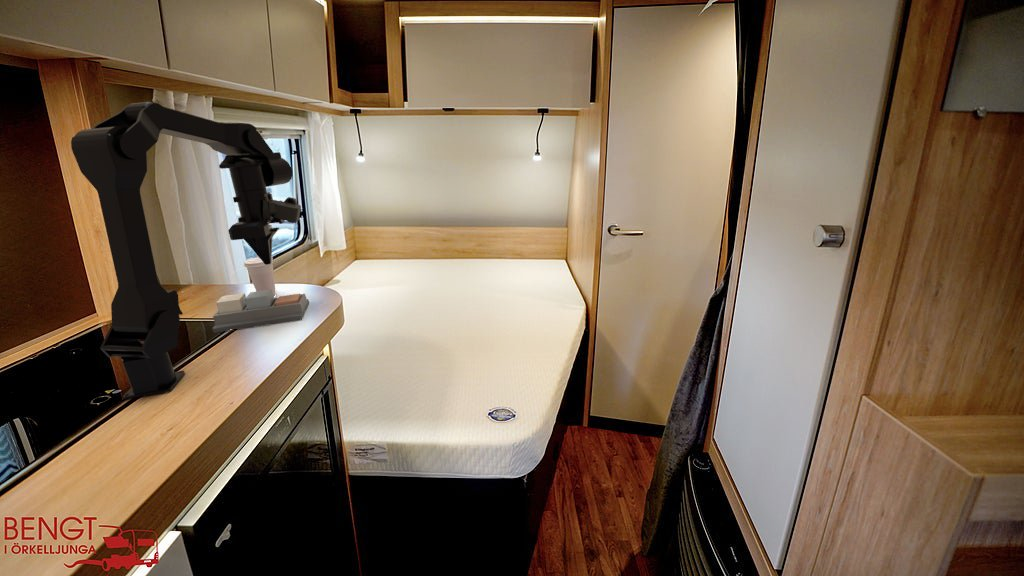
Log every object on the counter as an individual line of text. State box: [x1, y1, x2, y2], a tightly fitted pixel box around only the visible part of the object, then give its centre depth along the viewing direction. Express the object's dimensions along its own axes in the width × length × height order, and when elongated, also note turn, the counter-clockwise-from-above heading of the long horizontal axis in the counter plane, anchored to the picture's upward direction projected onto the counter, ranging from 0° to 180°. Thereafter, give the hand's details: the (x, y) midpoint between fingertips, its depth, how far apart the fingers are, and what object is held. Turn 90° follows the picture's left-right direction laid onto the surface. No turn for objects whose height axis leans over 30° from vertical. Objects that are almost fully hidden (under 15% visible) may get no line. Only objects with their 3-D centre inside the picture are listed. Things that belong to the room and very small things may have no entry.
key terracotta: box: [275, 293, 301, 306], centre depth 103 cm, size 4×4×2 cm
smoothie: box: [243, 256, 277, 296], centre depth 114 cm, size 6×6×14 cm
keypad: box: [212, 293, 310, 334], centre depth 102 cm, size 11×17×3 cm, turn 105°
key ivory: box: [216, 292, 247, 314], centre depth 100 cm, size 4×4×2 cm
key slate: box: [245, 290, 275, 310], centre depth 101 cm, size 4×4×2 cm
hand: (268, 263), depth 100 cm, fingers closed
